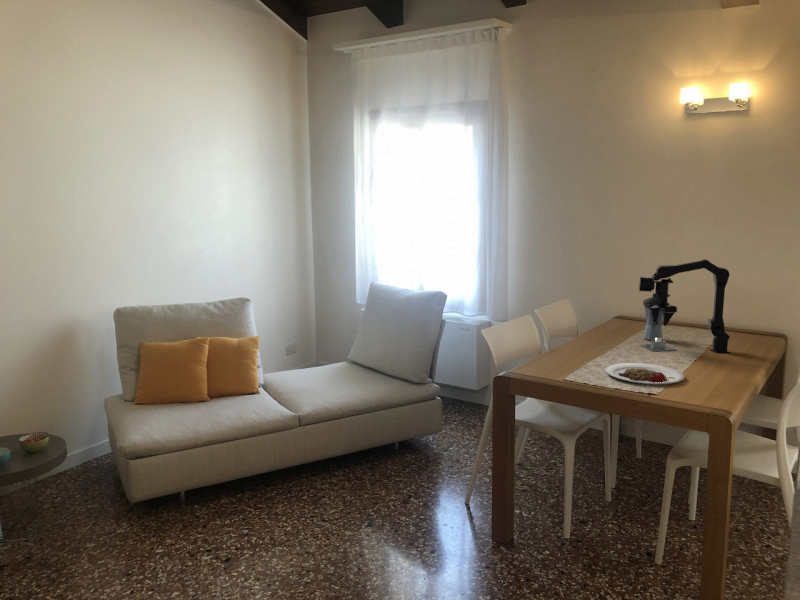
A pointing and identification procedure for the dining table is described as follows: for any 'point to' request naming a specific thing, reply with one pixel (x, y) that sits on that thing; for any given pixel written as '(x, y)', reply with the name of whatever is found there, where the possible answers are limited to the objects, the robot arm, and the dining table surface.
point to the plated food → (644, 373)
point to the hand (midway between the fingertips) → (659, 323)
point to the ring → (658, 344)
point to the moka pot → (653, 325)
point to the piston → (658, 348)
